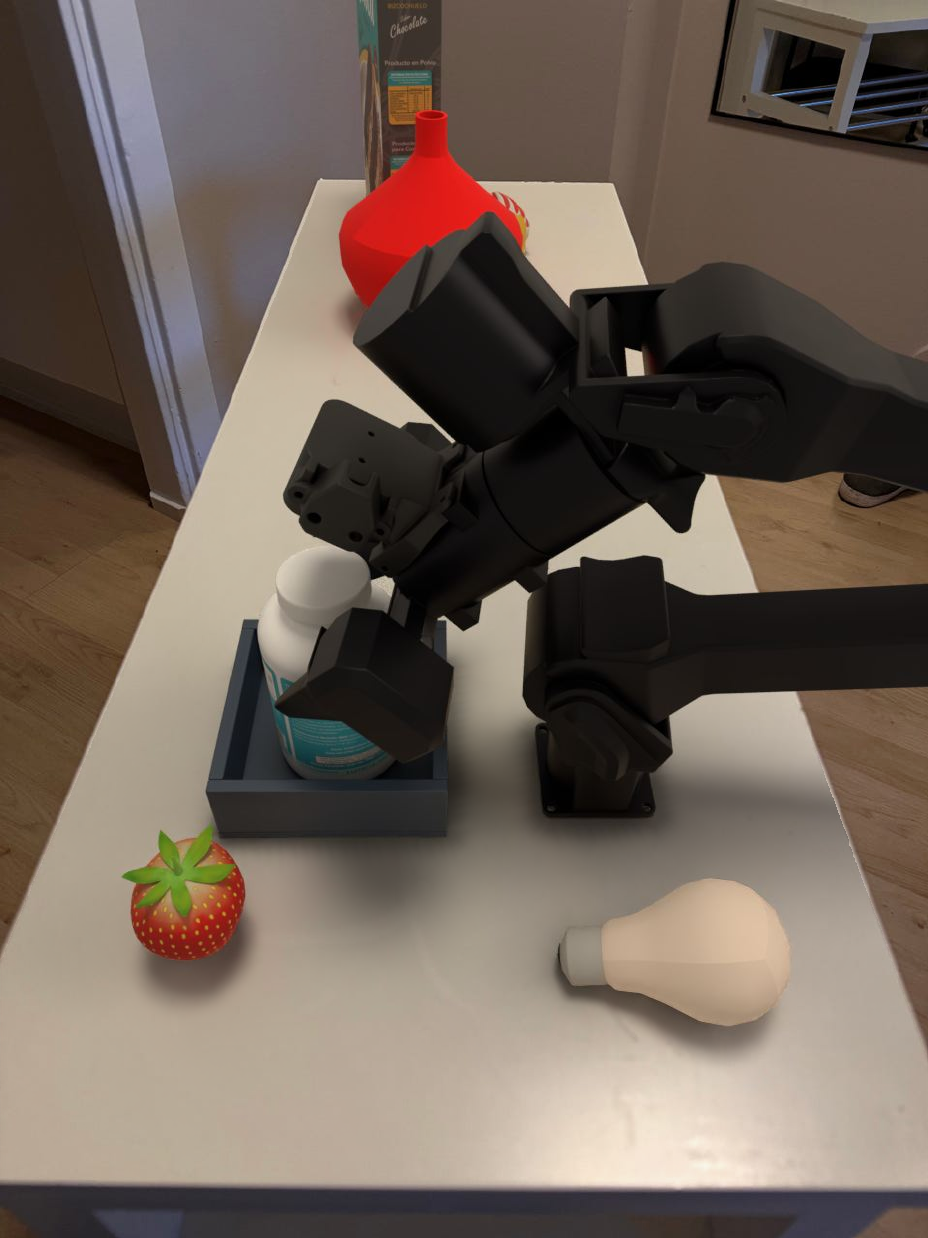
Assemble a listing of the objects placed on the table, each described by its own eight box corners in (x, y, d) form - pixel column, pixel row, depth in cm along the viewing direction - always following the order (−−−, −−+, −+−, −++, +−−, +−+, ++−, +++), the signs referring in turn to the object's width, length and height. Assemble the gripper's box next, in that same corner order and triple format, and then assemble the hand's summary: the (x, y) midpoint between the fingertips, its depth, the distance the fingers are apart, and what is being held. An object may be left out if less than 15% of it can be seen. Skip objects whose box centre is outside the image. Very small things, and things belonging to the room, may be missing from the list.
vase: (338, 358, 86) (321, 146, 72) (349, 277, 98) (336, 84, 85) (524, 359, 86) (541, 150, 73) (511, 279, 99) (523, 88, 86)
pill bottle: (430, 733, 53) (430, 568, 43) (348, 816, 49) (327, 654, 39) (340, 675, 56) (321, 509, 47) (255, 748, 52) (214, 583, 42)
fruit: (246, 991, 42) (218, 916, 37) (140, 989, 42) (95, 913, 37) (265, 889, 46) (242, 806, 40) (167, 886, 46) (131, 803, 40)
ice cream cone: (506, 335, 99) (481, 225, 109) (556, 308, 96) (526, 198, 106) (479, 298, 94) (456, 186, 104) (532, 269, 91) (503, 157, 102)
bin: (446, 836, 49) (447, 791, 45) (219, 837, 48) (204, 792, 45) (445, 667, 57) (446, 619, 54) (253, 667, 57) (243, 618, 54)
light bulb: (541, 975, 38) (803, 966, 36) (547, 859, 44) (775, 844, 41) (566, 1059, 42) (807, 1056, 39) (569, 941, 47) (781, 932, 45)
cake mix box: (366, 206, 113) (351, -89, 92) (412, 205, 114) (408, -89, 93) (386, 280, 98) (374, -53, 77) (439, 277, 99) (442, -53, 78)
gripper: (428, 269, 41) (236, 445, 49) (343, 515, 28) (102, 697, 36) (576, 428, 46) (378, 563, 55) (561, 699, 33) (305, 820, 42)
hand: (304, 643), depth 47 cm, fingers open, 9 cm apart
